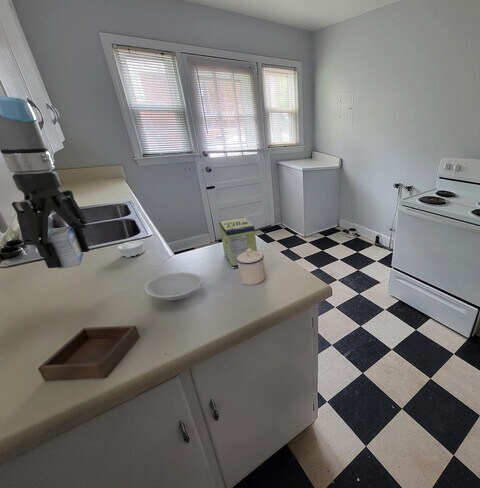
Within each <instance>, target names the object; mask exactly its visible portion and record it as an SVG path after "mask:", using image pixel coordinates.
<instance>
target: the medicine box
mask: <svg viewBox="0 0 480 488" xmlns="http://www.w3.org/2000/svg"><path fill="white" fill-rule="evenodd" d="M49 242H52V244H53V246H54V249H55V251H56V253H57V256H58V258H59V260H60V262H61V265H62V267H60V268H57V269H58V270H60V269H66V268H71V267H76V266H81V264H82V260H83V257H84V252H82V250H81V247H80V245H79V242H78V240H77V237H76V235H75V232H74V230H73V228H72V227H69V226H63V227H58V228H53V229H51V230H50V231H48V243H49Z"/></svg>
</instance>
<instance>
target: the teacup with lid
mask: <svg viewBox="0 0 480 488" xmlns="http://www.w3.org/2000/svg"><path fill="white" fill-rule="evenodd" d="M236 260H237V262H238V268H237V270H238V275H239V282H240V283H241V284H243V285H246V286H255V285H258V284H260V283H262V282H263V281H265V278H266V274H265V272H266V271H265V263H264V254H263V253H262V252H261V251H258V250H257V251H252V249H247V250H246V252H243V253H241V254H239V255H238V256H237V259H236Z"/></svg>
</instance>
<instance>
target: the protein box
mask: <svg viewBox="0 0 480 488" xmlns="http://www.w3.org/2000/svg"><path fill="white" fill-rule="evenodd" d="M218 224H219V229H220V236H221V241H222V248H223V254H224V253H225V254H224V256H225V255H226V256H225V258H226V257H227V258H226V260H227V259H228V260H229V262H230V264H231V266H232V267H238V262H237V260H236V259H237V256H238V255H239V254H241V253H243V252H246V250H247V249H252V251H258V247H257V246H258V245H257V238H256V229H255V228H256V227H255V226H254V225H253V224H252V223H251V222H250V221H249V220H247V218H246V217H245V216H242V217H241V216H240V217H235V218H227V219H221V220H218ZM228 260H227V261H228ZM229 262H228V263H229ZM230 264H229V265H230ZM231 266H230V267H231ZM232 267H231V268H232Z"/></svg>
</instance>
